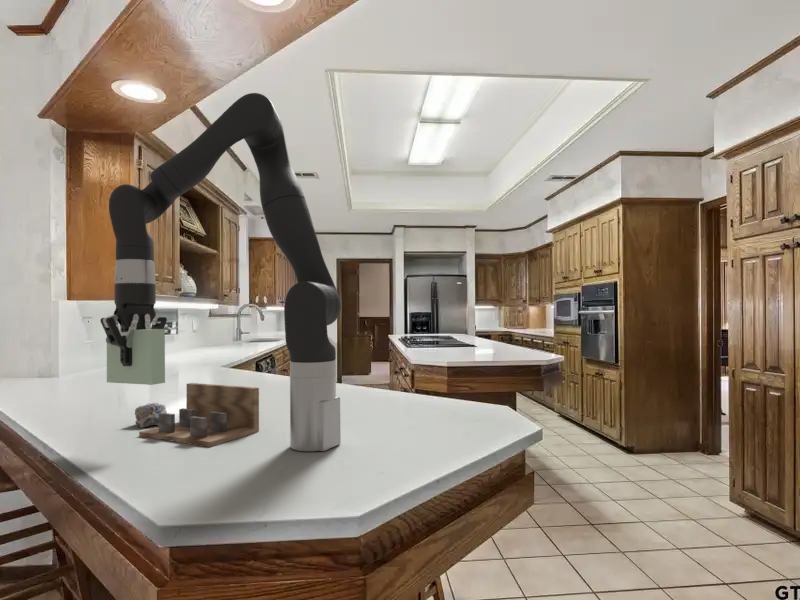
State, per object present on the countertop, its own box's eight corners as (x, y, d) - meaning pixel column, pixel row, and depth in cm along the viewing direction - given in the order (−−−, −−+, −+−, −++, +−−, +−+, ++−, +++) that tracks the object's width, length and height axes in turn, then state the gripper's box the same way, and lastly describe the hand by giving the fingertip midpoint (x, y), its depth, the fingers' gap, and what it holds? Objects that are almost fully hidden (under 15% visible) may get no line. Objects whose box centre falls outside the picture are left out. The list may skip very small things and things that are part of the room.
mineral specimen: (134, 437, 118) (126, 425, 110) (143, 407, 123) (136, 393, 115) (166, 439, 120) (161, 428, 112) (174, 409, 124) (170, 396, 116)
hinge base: (259, 431, 107) (258, 387, 108) (210, 447, 95) (210, 397, 95) (191, 423, 117) (191, 382, 117) (139, 436, 104) (139, 391, 105)
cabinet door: (165, 382, 95) (164, 329, 96) (147, 385, 92) (146, 329, 92) (120, 380, 101) (120, 329, 102) (101, 383, 98) (101, 330, 98)
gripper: (114, 279, 90) (114, 369, 89) (176, 283, 103) (177, 362, 102) (89, 281, 93) (89, 368, 92) (153, 285, 106) (153, 361, 105)
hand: (135, 364), depth 97 cm, fingers closed on cabinet door, 3 cm apart
